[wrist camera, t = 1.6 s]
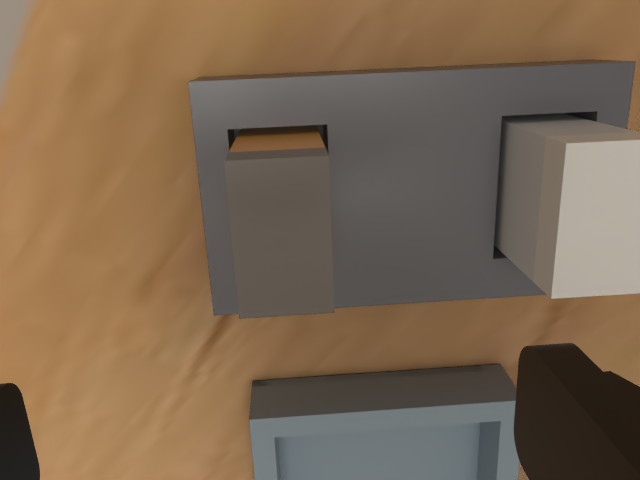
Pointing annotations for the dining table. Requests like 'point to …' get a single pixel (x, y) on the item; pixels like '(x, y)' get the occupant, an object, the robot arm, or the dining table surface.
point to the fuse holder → (399, 166)
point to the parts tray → (386, 426)
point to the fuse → (570, 204)
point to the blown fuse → (280, 221)
